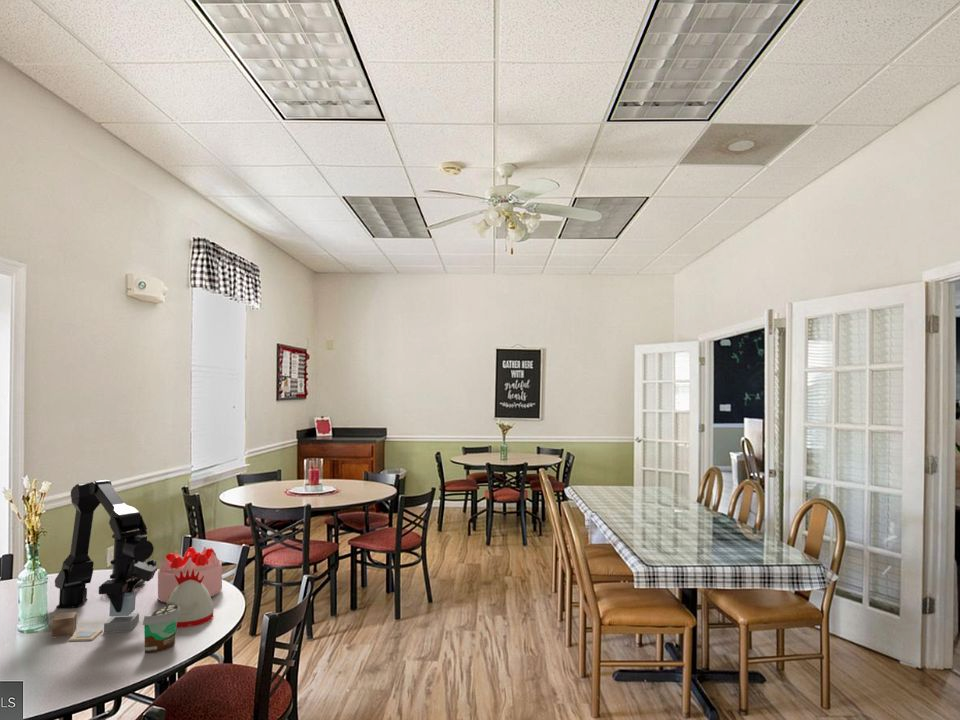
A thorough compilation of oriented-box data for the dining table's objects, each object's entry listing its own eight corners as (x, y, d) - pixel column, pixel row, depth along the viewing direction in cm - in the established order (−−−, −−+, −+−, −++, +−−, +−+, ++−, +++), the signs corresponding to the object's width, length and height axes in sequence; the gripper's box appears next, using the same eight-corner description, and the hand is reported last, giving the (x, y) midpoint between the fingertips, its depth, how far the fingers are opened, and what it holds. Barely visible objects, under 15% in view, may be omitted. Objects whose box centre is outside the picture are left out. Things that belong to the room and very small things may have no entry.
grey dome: (166, 613, 191) (168, 564, 192) (214, 608, 196) (216, 561, 197) (159, 630, 178) (162, 577, 179) (211, 624, 183) (213, 573, 184)
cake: (144, 602, 200) (143, 558, 201) (186, 583, 220) (186, 543, 220) (196, 605, 196) (195, 560, 197) (234, 585, 215) (234, 544, 216)
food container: (164, 656, 161) (166, 617, 162) (141, 655, 161) (143, 617, 162) (187, 637, 173) (189, 601, 174) (166, 636, 174) (167, 600, 174)
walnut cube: (51, 638, 171) (52, 620, 171) (55, 631, 176) (56, 613, 176) (72, 635, 173) (73, 617, 173) (76, 629, 178) (77, 611, 178)
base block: (103, 634, 175) (104, 623, 175) (112, 624, 182) (113, 614, 182) (130, 632, 177) (130, 621, 177) (138, 623, 184) (139, 613, 184)
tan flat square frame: (68, 641, 169) (68, 638, 169) (79, 632, 175) (79, 630, 175) (92, 640, 170) (92, 637, 170) (102, 631, 176) (102, 629, 176)
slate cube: (109, 616, 177) (110, 598, 177) (116, 610, 182) (117, 593, 182) (128, 615, 178) (128, 598, 178) (134, 609, 183) (135, 592, 183)
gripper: (141, 563, 173) (139, 619, 172) (165, 546, 191) (162, 597, 190) (99, 564, 171) (96, 621, 170) (126, 546, 189) (124, 598, 189)
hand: (122, 608), depth 180 cm, fingers closed on slate cube, 5 cm apart
